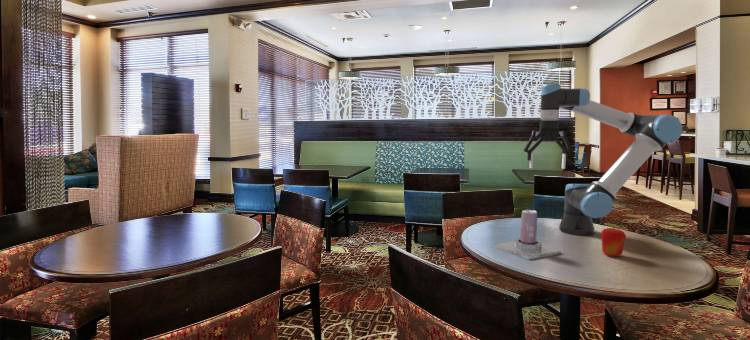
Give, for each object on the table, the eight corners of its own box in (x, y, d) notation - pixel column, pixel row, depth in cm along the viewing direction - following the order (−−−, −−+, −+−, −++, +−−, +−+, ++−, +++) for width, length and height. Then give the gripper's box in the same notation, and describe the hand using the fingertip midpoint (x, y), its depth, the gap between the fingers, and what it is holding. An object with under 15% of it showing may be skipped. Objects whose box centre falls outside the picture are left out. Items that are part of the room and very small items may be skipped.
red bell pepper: (629, 259, 157) (631, 228, 156) (606, 258, 158) (608, 228, 156) (616, 252, 166) (618, 223, 164) (595, 251, 166) (597, 223, 165)
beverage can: (534, 245, 170) (536, 210, 168) (536, 250, 164) (538, 213, 163) (519, 244, 171) (520, 209, 170) (521, 249, 166) (522, 212, 164)
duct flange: (527, 241, 180) (527, 233, 180) (561, 253, 164) (562, 244, 163) (495, 247, 172) (495, 238, 172) (528, 259, 156) (528, 250, 156)
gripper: (521, 119, 178) (519, 168, 180) (582, 119, 174) (579, 169, 176) (518, 120, 185) (516, 166, 188) (577, 120, 181) (574, 167, 184)
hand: (547, 168), depth 182 cm, fingers open, 13 cm apart
